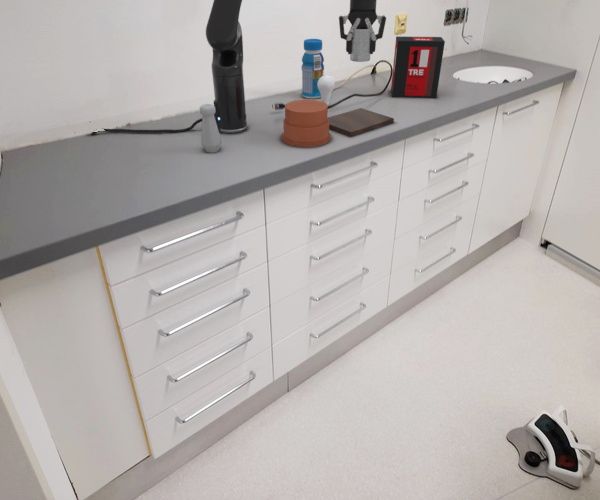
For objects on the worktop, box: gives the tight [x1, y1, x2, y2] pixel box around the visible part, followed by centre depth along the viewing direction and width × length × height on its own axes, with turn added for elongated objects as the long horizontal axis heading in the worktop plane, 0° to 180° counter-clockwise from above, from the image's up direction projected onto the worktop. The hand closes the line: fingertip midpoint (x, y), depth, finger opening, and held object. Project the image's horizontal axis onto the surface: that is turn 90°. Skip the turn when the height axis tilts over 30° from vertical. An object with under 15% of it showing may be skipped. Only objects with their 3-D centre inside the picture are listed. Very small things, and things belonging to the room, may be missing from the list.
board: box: [327, 107, 395, 137], centre depth 156 cm, size 20×15×2 cm
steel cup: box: [349, 29, 372, 63], centre depth 142 cm, size 6×6×9 cm
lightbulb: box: [317, 74, 336, 107], centre depth 168 cm, size 6×6×11 cm
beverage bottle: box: [301, 38, 325, 99], centre depth 178 cm, size 8×8×20 cm
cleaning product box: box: [390, 36, 446, 99], centre depth 179 cm, size 16×9×20 cm, turn 84°
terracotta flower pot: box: [281, 99, 332, 148], centre depth 142 cm, size 15×15×10 cm
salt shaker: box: [199, 103, 222, 154], centre depth 134 cm, size 6×6×13 cm
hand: (360, 53), depth 144 cm, fingers closed on steel cup, 6 cm apart
